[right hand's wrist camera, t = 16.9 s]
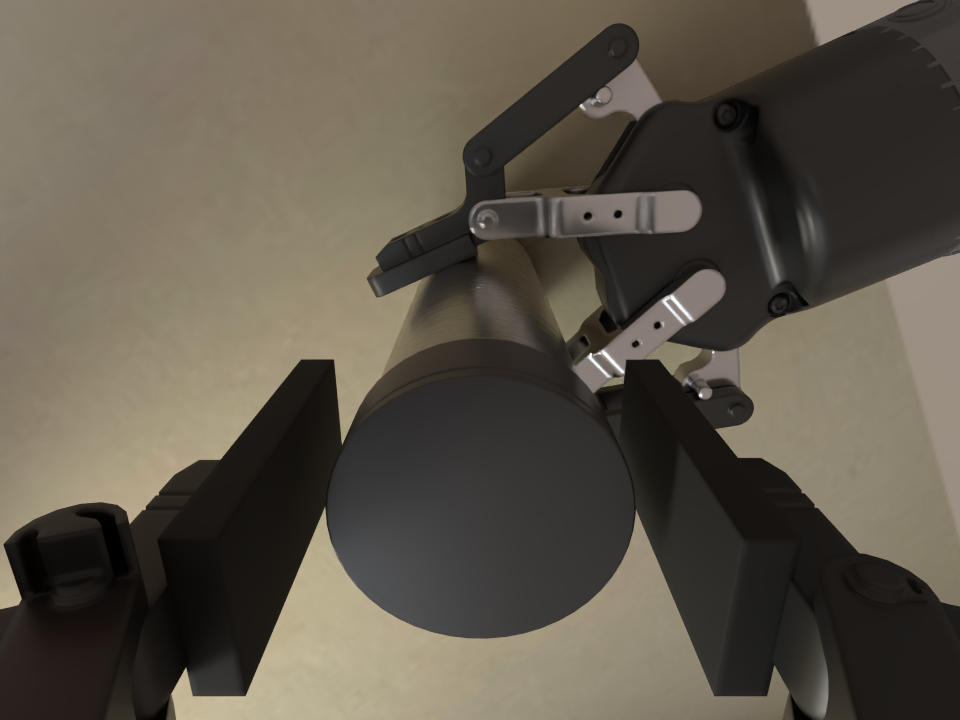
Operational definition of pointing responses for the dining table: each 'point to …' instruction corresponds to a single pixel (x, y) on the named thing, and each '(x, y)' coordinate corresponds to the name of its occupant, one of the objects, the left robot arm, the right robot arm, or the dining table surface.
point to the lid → (480, 491)
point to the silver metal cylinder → (482, 305)
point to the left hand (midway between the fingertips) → (413, 351)
